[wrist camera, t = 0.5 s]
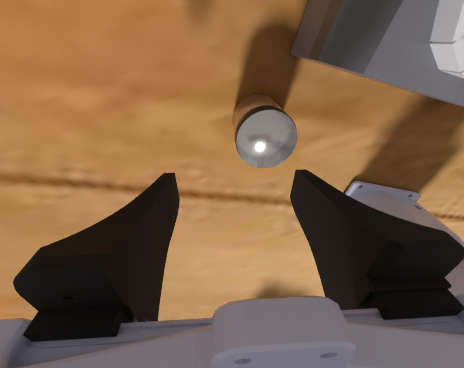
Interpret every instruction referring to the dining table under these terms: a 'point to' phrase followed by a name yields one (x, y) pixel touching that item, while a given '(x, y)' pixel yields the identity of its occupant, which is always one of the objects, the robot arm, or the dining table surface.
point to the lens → (263, 131)
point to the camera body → (389, 42)
